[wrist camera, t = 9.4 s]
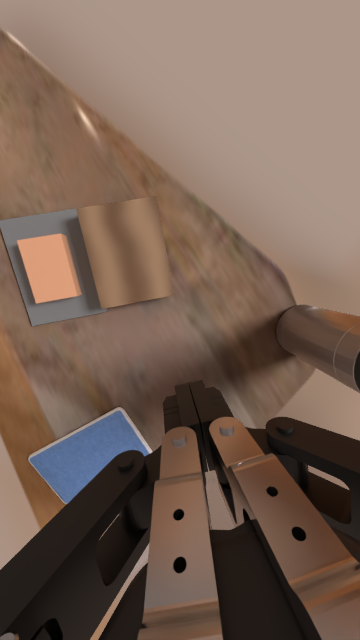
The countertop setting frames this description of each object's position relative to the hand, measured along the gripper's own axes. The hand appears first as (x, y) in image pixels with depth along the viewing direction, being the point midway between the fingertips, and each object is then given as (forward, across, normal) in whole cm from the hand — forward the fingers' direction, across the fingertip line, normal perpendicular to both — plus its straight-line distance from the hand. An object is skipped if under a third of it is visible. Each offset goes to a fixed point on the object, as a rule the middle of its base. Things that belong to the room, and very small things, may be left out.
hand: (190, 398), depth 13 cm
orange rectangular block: (+27, +16, -10) cm, 32 cm away
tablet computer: (+29, +18, +24) cm, 42 cm away
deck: (+28, +4, -10) cm, 30 cm away
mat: (+28, +15, -10) cm, 34 cm away
